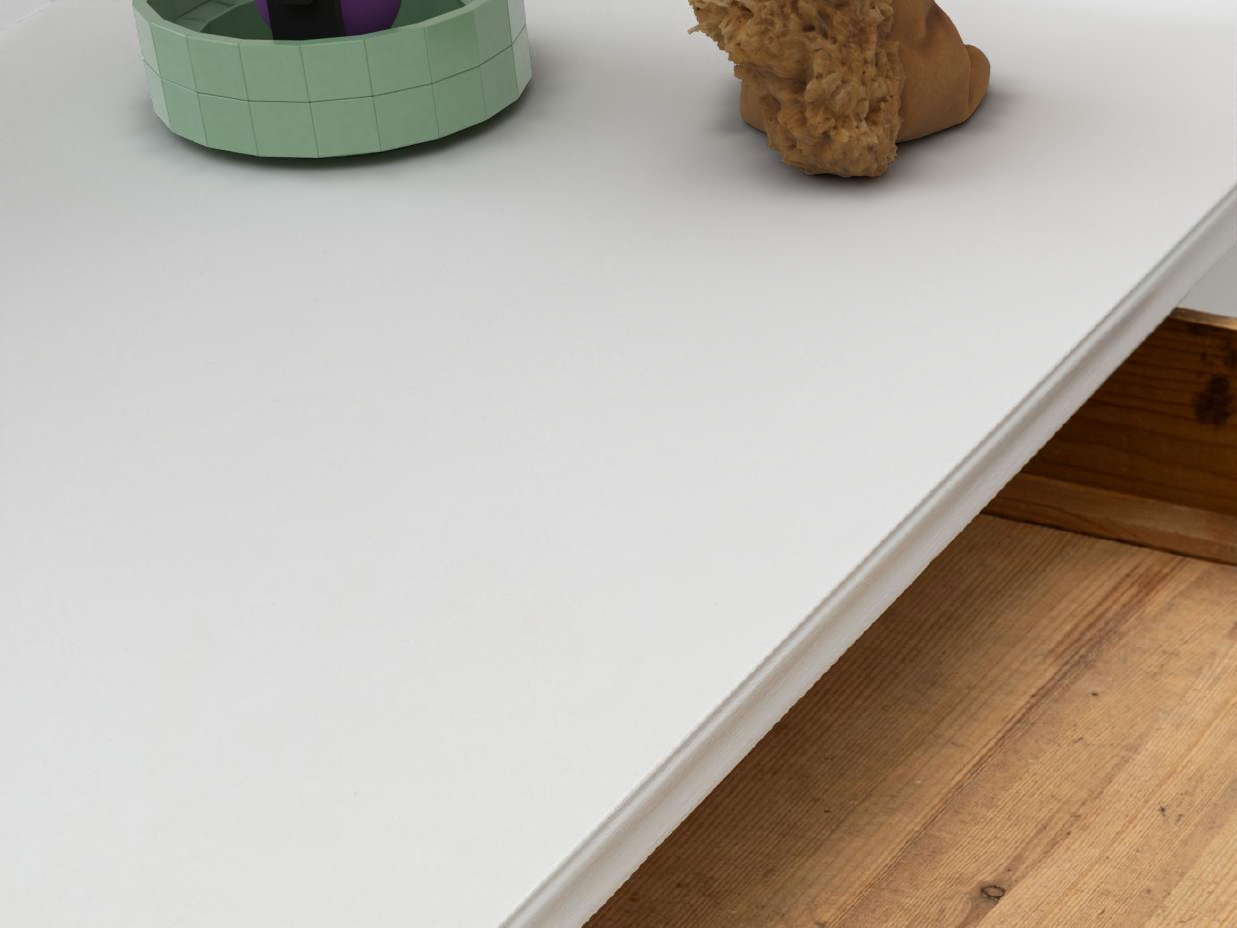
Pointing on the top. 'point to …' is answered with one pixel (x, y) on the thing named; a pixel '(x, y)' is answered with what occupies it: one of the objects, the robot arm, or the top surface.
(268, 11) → the robot arm
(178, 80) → the bowl
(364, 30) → the ball
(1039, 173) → the top surface
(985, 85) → the stuffed squirrel
